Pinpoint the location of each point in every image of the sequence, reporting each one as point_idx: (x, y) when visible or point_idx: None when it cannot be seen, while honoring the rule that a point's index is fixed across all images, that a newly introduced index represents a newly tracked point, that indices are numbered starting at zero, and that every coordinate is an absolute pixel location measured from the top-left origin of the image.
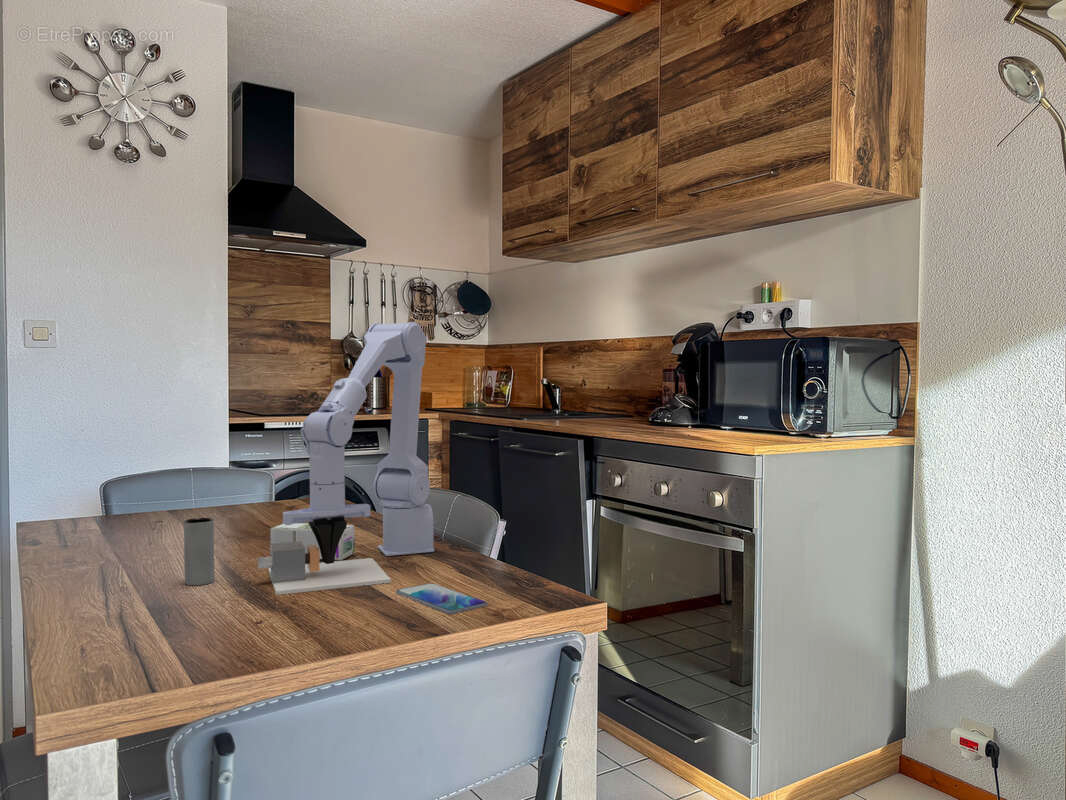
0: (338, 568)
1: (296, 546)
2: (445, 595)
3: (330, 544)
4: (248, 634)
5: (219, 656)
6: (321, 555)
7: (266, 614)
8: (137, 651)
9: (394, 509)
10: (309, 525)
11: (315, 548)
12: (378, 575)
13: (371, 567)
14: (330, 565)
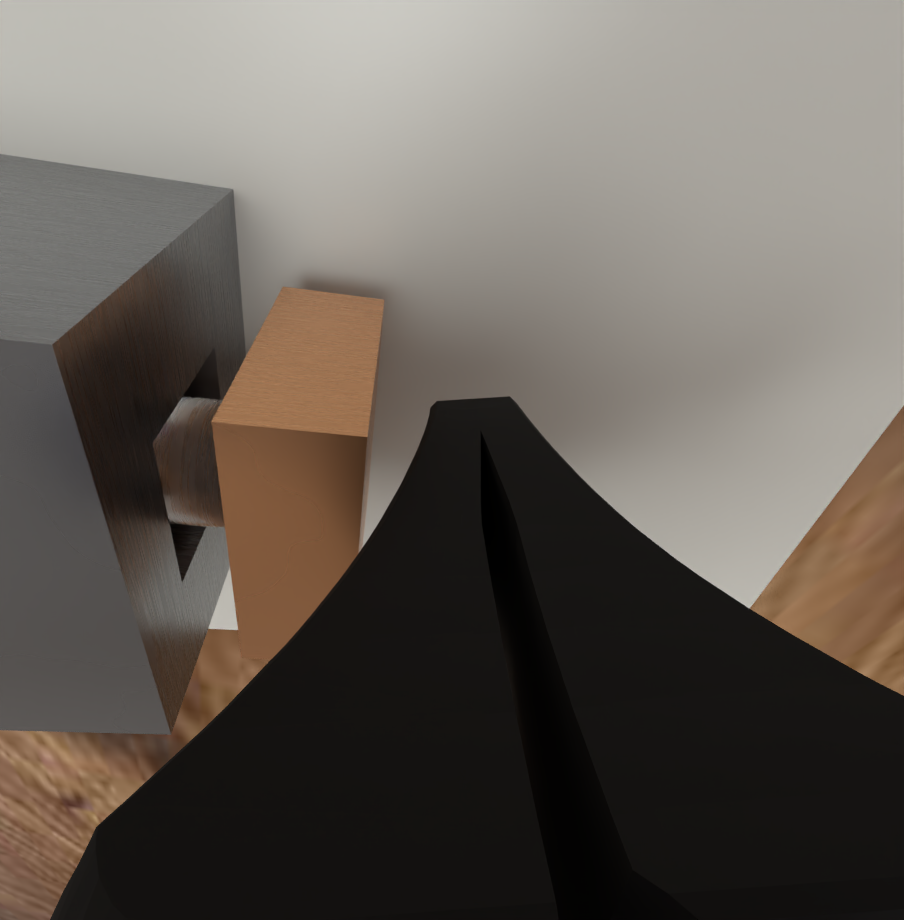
0: (613, 275)
1: (39, 644)
2: None
3: (507, 645)
4: (61, 846)
5: (21, 897)
6: (425, 430)
7: (84, 764)
8: None
9: None
10: (102, 831)
11: None
12: (718, 581)
13: (844, 392)
14: (610, 73)
